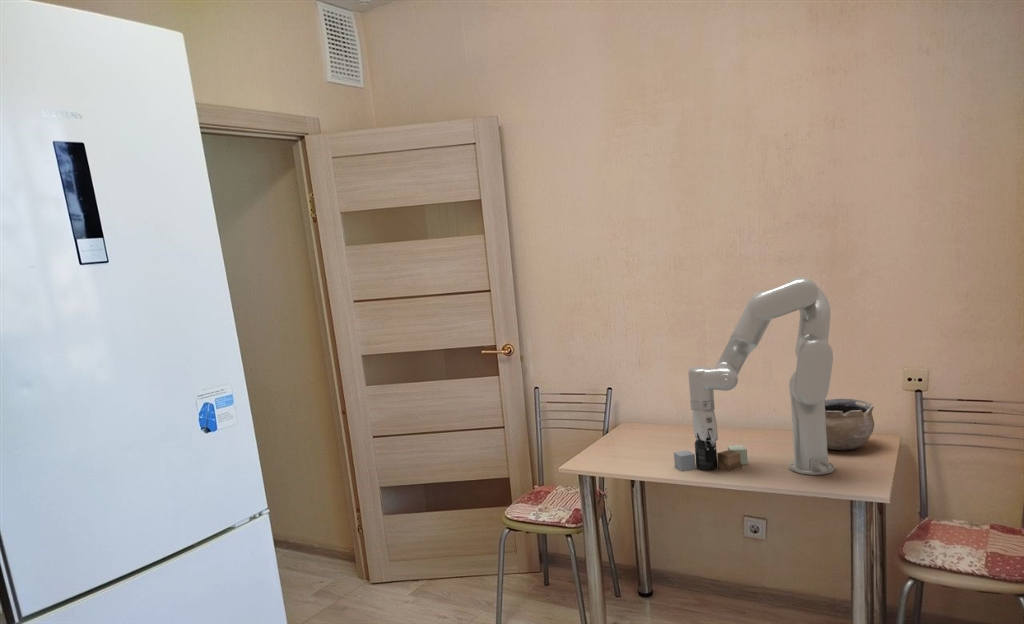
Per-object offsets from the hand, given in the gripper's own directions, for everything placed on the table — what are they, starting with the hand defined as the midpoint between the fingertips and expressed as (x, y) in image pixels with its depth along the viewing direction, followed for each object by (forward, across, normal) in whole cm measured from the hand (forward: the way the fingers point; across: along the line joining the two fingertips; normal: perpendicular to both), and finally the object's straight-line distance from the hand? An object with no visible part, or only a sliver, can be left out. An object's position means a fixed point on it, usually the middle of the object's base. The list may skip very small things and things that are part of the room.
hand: (706, 458), depth 210 cm
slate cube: (+3, +2, +6) cm, 8 cm away
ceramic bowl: (+4, +6, -49) cm, 49 cm away
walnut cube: (+3, -2, -7) cm, 8 cm away
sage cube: (+3, +2, -12) cm, 12 cm away
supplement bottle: (+4, 0, 0) cm, 4 cm away
